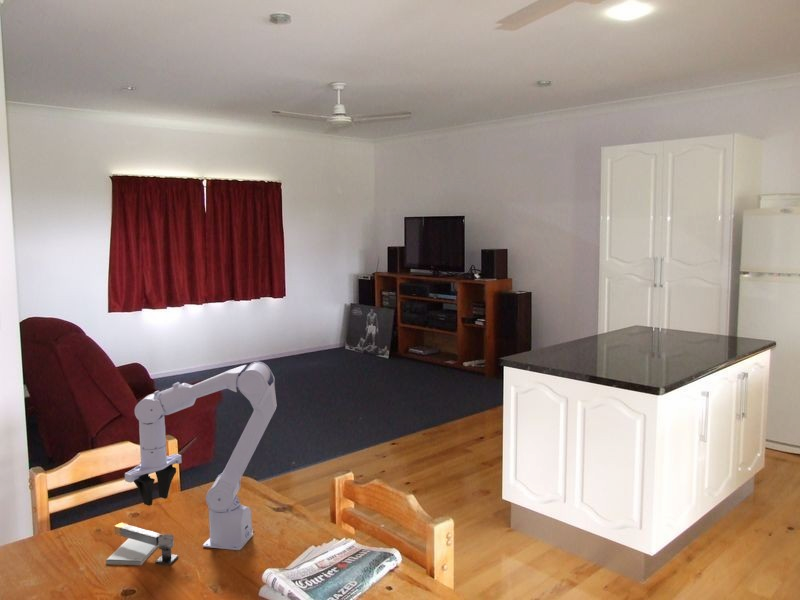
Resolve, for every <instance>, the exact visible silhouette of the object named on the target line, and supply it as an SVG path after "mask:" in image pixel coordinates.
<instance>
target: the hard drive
mask: <svg viewBox="0 0 800 600" xmlns="http://www.w3.org/2000/svg"><path fill="white" fill-rule="evenodd" d="M158 548H159V545H158V546H155V545H151V544H148V543H144V542H141V541H137V540H134V539H130V538H127V539H126V540H125V541H124V542H123V543H122V544H121V545H120V546H119V547H118V548H116V550H114V552H113V553H112V554H111V555H109V557H108V558H106V560H105V564H107V565H124V566H125V565H127V566H142V565H143V564H144V563H145V562H146V561H147V559H148V558H149V557H151V555H152V554H153V552H155V551H156V550H157V549H158Z"/></svg>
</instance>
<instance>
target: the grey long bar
mask: <svg viewBox="0 0 800 600" xmlns="http://www.w3.org/2000/svg"><path fill="white" fill-rule="evenodd" d="M113 527H114V529H113V531H114V535H115V536H119V537H124V538H127V539H128V538H130V539H134V540H137V541H141V542H144V543H148V544H151V545H155V546H158V545H159V546H158V549H159V550H161V551H162V550H166V549H170V548H171V549H172V548H173V547H174V545H175V544H174V543H175V542H174V535H172V534H162V533H158V532H155V531H153V530H148V529H145V528H140V527H138V526H135V525H130V524H128V523H125V522H119V523H118V524H117V523H116V525H114V526H113Z"/></svg>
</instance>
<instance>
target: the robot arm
mask: <svg viewBox="0 0 800 600" xmlns="http://www.w3.org/2000/svg"><path fill="white" fill-rule="evenodd" d="M275 378H276V377H275V376H274V374H273V372H272V370H271V369H270V367H269V365H267V364H266V363H264V362H263V361H255V362H251V363H250V364H249V365H248V364H244V365H243V364H242V365H240V366H238V367H234V368H231V369H228V370H226V371H224V372H221V373H220V374H217V375H214V376H212V377H209V378H207V379H205V380H202V381H200V382H197V383H195V384H189V383H186V382H182V383H181V382H179V381H177V382H175V383H173V384H172V387H170V388H167V389H165V390H164V389H163V390H161V391H160V390H156V391H154V392H153V393H151V394H147V395H146V396H145V397H144V398H143V399H141V400H140V401H138V403H137V404H136V405H135V407H134V416H135V417H136V419H137V420H138V426H139V427H138V428H139V429H138V430H139V431H138V432H139V450H140V454H139V455H140V462H139V464H138V465H137V466H135V467H134V468H132V469H131V470H129V471H127V472H124V480H125V481H124V482H127V483H130V484H131V483H134V484H135V486H136V488H137V490H138V491H139V493H140V496H141V498H142V501H143V505H144V506H145V505H146V506H148V507H150V506H152V505H153V488H154V483H155V481H156V480H157V487H158V488H157V489H158V496H159V498H160V499H164V500H166V499H168V497H169V492H170V488H171V485H172V484H171V483H172V482H173V479H174V477H175V475H176V473H177V467H174V466H173V465H175V464H176V465H178V464H182V463H183V461H182V455H181V454H178V453H174V454H169V455H167V439H166V438H167V437H166V424H165V418H166V417H165V416H169V415H172V414H174V413H177V412H179V411H182V410H184V409H188V408H190V407H192V406H194V405H195V403H196V400H197V399H199V398H201V397H205V396H208V395H210V394H211V395H212V394H214V393H217V392H219V391H222V390H227V389H228V390H230V391H232V392H235V393H237V392H238V391H240V393H241V394H242V395H243V396H244V397H245V398H246V399H247V400H248V401H249V404H250V405H251V407H252V408H253V411H252V414H251V416H250V418H249V419H248V421H247V424H246V425H245V427H244V430H243V432H242V433H241V435H240V438H239V439H238V440H237V443H236V444H235V445H236V446H235V447H234V449H233V451H232V453H231V455H230V458H229V459H228V462H227V464H225V466H224V467H225V468H224V469H223V471H222V472H221V473H220V474H218V475H217V477H216V478H215V481H214V483H213V484H212V486H211V487H210V488H209V489H208V491H207V493H206V495H205V502H206V504H207V506H208V520H209V521H208V523H209V538H208V539H207V540H206V541H205V542H204V543H203V544H202V547H203V548H211V549H213V548H214V549H221V550H232V551H233V550H234V551H241V550H242V549H243V547H244V546H245V545H246V544H247V543H248V542H249V540H250V539H251V538H252V537H253V536H254V532H253V524H252V509H251V507H249V506H246V505H243V504H241V501H240V498H239V497H238V493H239V491H240V490H241V486H242V485H241V484H242V483H241V481H242V477H243V475H244V473H245V471H246V469H247V468H248V467H247V466H248V465H249V463H250V462H251V459H252V457H253V455H254V453H255V451H256V449H257V447H258V445H259V443H260V441H261V439H262V437H263V436H264V433H265V431H266V429H267V428H268V425H269V423H270V421H271V419H272V418H273V416H274V414H275V412H276V409H277V407H278V405H277V397H276V387H275V386H276V385H275ZM153 473H155V476H156V480H155V478H152V477H151V476H150V474H153Z"/></svg>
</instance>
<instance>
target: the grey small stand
mask: <svg viewBox="0 0 800 600" xmlns="http://www.w3.org/2000/svg"><path fill="white" fill-rule="evenodd" d="M177 559H179V554H172V548H170V549H166V550H161V556H159V557H158V559H156V560H155V561H154V564H155V565H158V566H159V565H160V566H171V565H173V564H174V562H175V561H176V560H177Z"/></svg>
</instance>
